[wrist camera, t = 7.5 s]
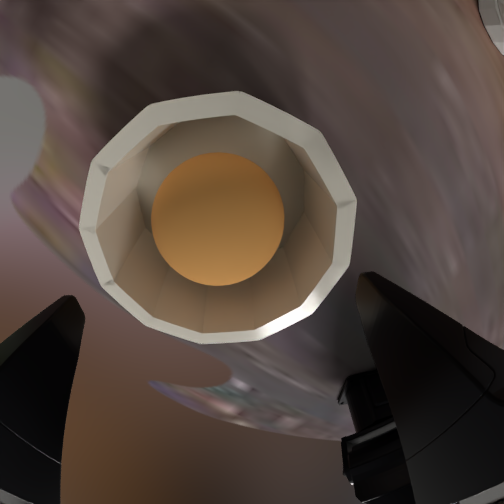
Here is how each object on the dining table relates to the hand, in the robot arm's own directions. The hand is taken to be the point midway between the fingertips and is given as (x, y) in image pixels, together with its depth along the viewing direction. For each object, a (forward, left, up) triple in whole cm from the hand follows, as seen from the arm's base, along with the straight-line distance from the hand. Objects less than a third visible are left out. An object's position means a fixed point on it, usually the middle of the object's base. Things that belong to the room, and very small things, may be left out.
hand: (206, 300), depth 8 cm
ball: (0, 0, -6) cm, 6 cm away
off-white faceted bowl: (0, 0, -9) cm, 9 cm away
